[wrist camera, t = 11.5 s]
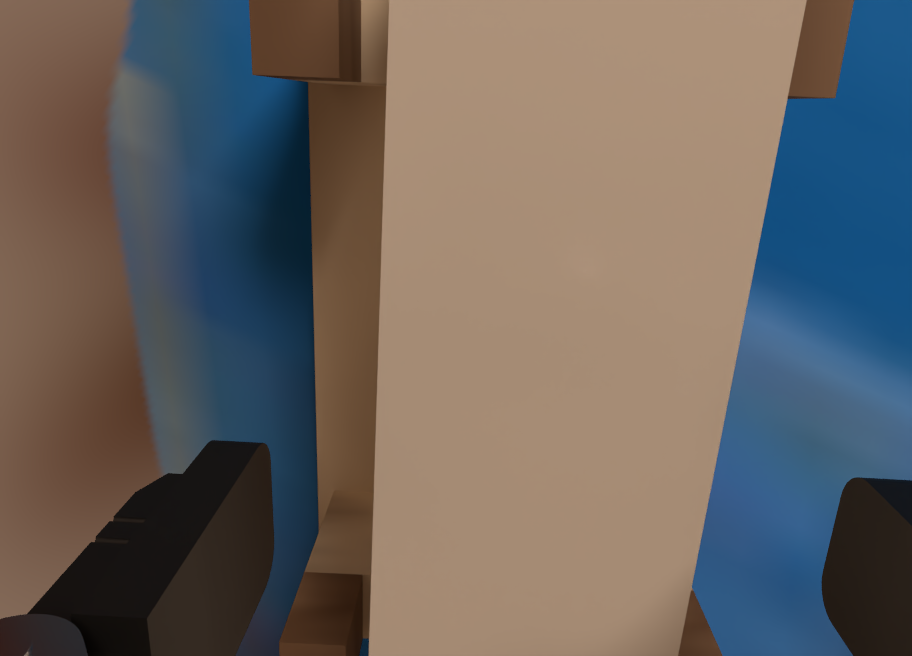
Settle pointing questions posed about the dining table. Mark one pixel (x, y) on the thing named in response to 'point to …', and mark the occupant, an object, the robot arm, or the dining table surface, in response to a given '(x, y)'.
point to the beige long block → (562, 311)
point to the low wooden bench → (359, 272)
